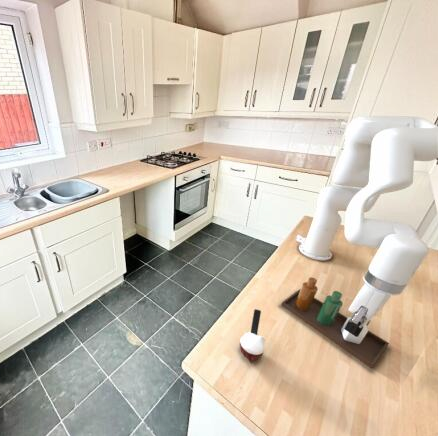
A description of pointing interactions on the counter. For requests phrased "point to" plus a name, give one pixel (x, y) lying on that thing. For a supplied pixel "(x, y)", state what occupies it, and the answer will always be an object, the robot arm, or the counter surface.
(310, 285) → the amber bottle
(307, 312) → the tray
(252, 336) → the cocoa
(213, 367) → the counter surface
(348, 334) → the salt shaker
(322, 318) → the green bottle
